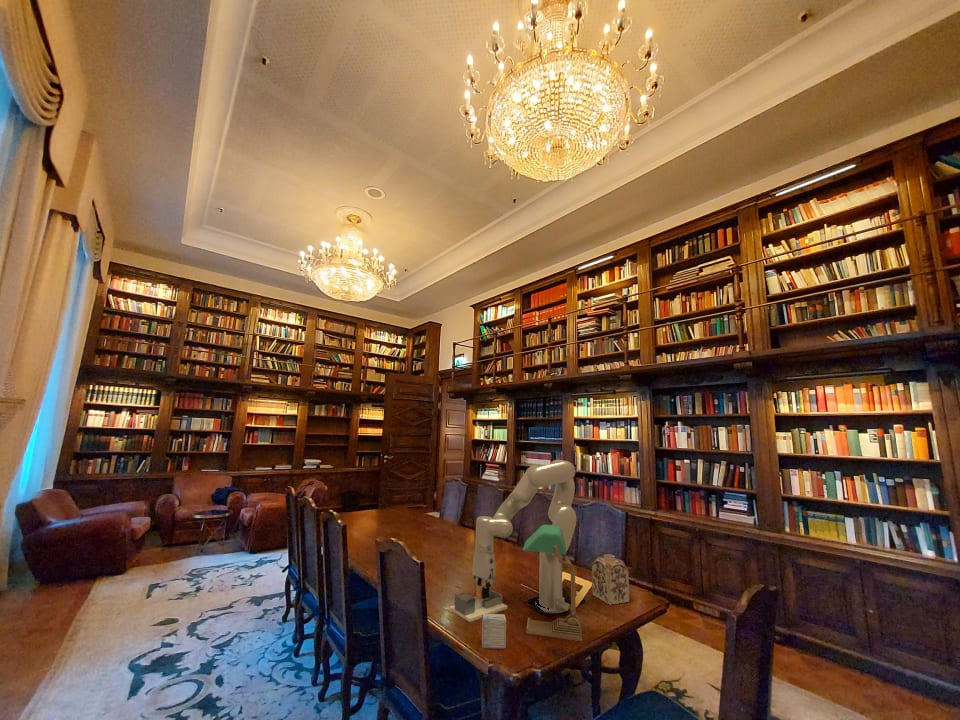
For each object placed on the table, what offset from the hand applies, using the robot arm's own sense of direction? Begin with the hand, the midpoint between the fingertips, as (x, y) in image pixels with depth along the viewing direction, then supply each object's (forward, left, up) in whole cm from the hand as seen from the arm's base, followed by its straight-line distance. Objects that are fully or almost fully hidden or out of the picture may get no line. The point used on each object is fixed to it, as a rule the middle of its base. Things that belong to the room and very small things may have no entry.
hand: (482, 595), depth 154 cm
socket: (0, +9, -3) cm, 10 cm away
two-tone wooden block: (0, +3, -3) cm, 5 cm away
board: (0, +2, -4) cm, 5 cm away
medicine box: (-24, +16, -5) cm, 29 cm away
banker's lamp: (-30, -8, -5) cm, 31 cm away
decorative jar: (-26, -54, -5) cm, 60 cm away
